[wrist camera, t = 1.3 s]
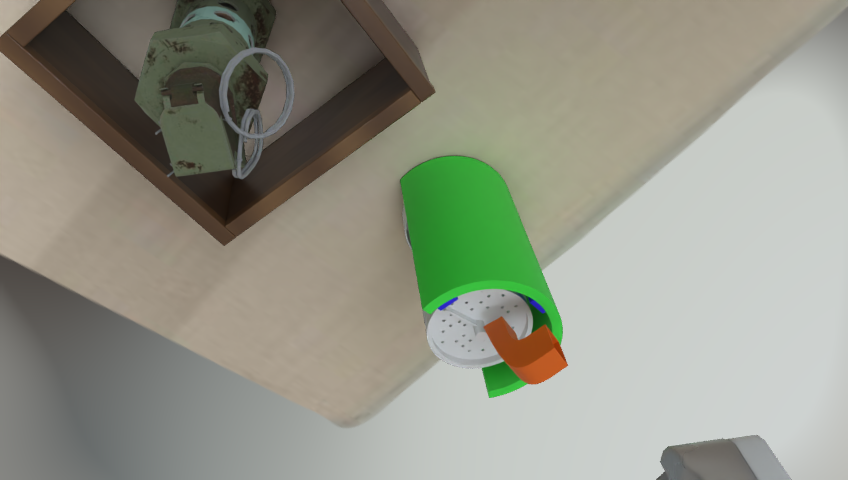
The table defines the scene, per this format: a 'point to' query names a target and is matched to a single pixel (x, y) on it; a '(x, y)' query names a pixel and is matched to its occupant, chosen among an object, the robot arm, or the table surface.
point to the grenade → (211, 84)
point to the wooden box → (271, 177)
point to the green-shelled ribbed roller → (479, 275)
